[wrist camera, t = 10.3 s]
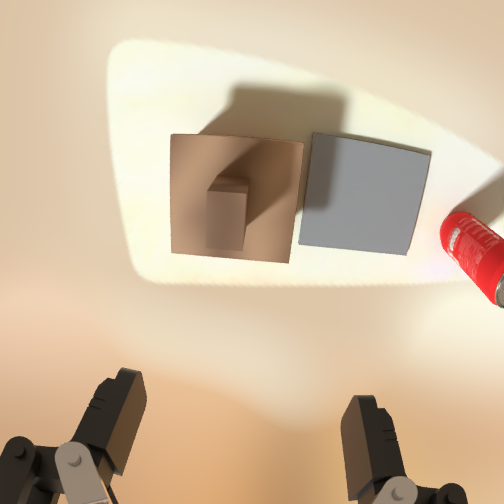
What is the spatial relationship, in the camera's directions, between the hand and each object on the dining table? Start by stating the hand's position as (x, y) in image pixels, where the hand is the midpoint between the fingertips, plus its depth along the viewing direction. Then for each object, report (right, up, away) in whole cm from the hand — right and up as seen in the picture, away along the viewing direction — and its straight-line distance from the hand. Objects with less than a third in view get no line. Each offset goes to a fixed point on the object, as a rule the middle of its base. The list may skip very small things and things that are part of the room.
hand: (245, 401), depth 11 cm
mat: (+11, +11, +19) cm, 25 cm away
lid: (-1, +10, +15) cm, 18 cm away
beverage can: (+23, +8, +20) cm, 32 cm away
